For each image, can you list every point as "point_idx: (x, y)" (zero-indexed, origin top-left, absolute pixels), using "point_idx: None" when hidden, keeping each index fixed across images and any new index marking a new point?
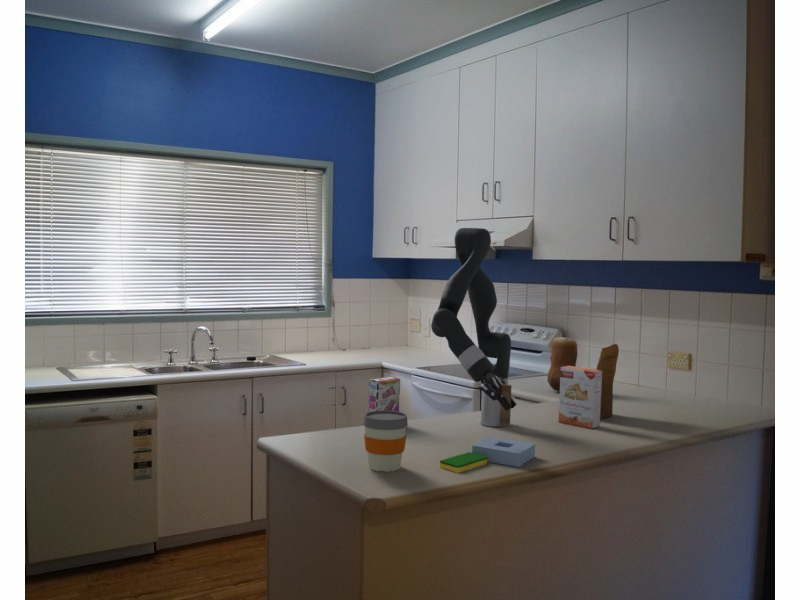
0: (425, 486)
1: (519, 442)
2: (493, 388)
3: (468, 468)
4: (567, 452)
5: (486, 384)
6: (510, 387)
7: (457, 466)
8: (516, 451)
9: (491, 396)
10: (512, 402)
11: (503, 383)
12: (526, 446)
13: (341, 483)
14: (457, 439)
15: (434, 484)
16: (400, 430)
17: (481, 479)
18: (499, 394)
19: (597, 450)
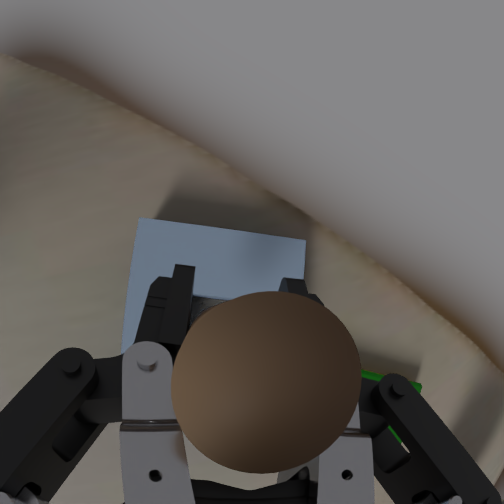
0: (489, 382)
1: (144, 279)
2: (429, 458)
3: (382, 374)
4: (60, 153)
5: (496, 494)
6: (297, 298)
7: (421, 386)
8: (286, 258)
9: (392, 441)
10: (191, 295)
11: (23, 465)
12: (194, 239)
13: (495, 479)
14: (83, 501)
15: (480, 376)
16: (501, 500)
17: (430, 310)
18: (399, 381)
19: (28, 99)
